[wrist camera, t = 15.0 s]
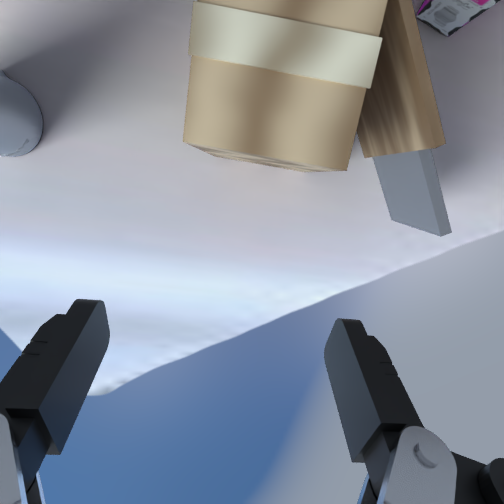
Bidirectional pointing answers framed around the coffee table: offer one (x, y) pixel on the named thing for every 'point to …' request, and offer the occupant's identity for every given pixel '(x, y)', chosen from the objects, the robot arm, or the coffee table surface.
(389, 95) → the flap
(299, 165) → the carton
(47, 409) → the robot arm
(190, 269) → the coffee table surface
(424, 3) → the candy bar box
